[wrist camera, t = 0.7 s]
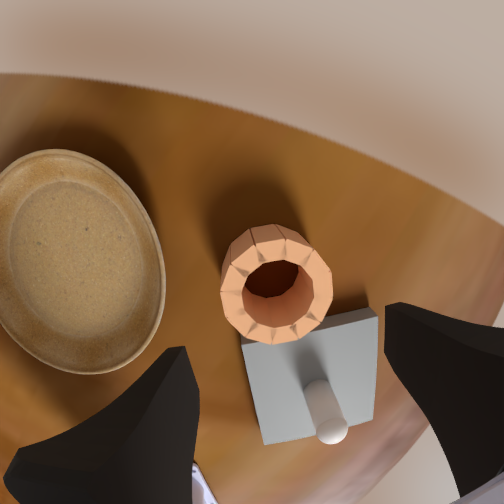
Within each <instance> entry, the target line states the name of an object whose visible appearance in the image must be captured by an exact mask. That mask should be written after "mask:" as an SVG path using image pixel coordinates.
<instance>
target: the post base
mask: <svg viewBox="0 0 504 504" xmlns="http://www.w3.org/2000/svg"><path fill="white" fill-rule="evenodd" d="M240 334H241V333H240ZM241 346H242V351H243V355H244V360H245V364H246V369H247V373H248V378H249V382H250V386H251V391H252V395H253V400H254V404H255V408H256V413H257V417H258V421H259V425H260V429H261V434H262V438H263V442H264V445H268V444H274V443H279V442H285V441H290V440H295V439H300V438H305V437H309V436H314V435H317V437H318V438H319V440H320V441H322V442H324V443H326V444H335V443H338V442H340V441H341V440H343V439H344V437H345V436H346V434H347V431H348V427H350V426H353V425H357V424H360V423H364V422H367V421H370V420H373V410H374V399H375V386H376V370H377V347H378V316H377V314H376V313H375V312H374V311H373V310H372V309H371V308H370V307H367V308H363V309H359V310H354V311H350V312H346V313H341V314H337V315H332V316H328V317H324V318H323V320H322V322H320V324H319V325H318V326H317V327H315V328H314V329H313V330H311V331H310V332H309V333H307V334H306V335H305V336H303V337H302V338H300V339H299V338H298V340H295V341H290V342H285V343H279V344H274V345H272V343H271V345H270V344H266V343H262V342H259V341H255V340H252V339H248V338H246V336H245V337H244V336H243V335H242V334H241Z"/></svg>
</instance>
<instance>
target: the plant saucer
mask: <svg viewBox="0 0 504 504" xmlns="http://www.w3.org/2000/svg"><path fill="white" fill-rule="evenodd" d="M165 293H166V275H165V266H164V259H163V254H162V250H161V246H160V243H159V240H158V237H157V234H156V231H155V228H154V226H153V224H152V222H151V219H150V217H149V215H148V213H147V211H146V210H145V208H144V207H143V205H142V203H141V202H140V201H139V199H138V197H137V196H136V195H135V193H134V192H133V191H132V190H131V188H130V187H129V186H128V185H127V184H126V183H125V182H124V181H123V180H122V179H121V178H120V177H119V176H118V175H117V174H116V173H115V172H114V171H112V170H111V169H110V168H108V167H107V166H106V165H104V164H103V163H101V162H99V161H98V160H96V159H94V158H92V157H90V156H87V155H84V154H82V153H79V152H75V151H71V150H66V149H46V150H40V151H36V152H33V153H30V154H27V155H25V156H23V157H21V158H19V159H17V160H16V161H14V162H13V163H11V164H10V165H9V166H8V167H7V168H5V169H4V170H3V171H2V173H0V323H1V325H2V326H3V328H4V329H5V330H6V332H7V333H8V334H9V335H10V336H11V337H12V338H13V340H14V341H15V342H17V343H18V344H19V345H20V346H21V347H22V348H23V349H24V350H26V351H27V352H28V353H29V354H31V355H32V356H34V357H35V358H36V359H38V360H40V361H41V362H43V363H45V364H47V365H50V366H52V367H54V368H56V369H59V370H62V371H66V372H70V373H76V374H102V373H107V372H110V371H113V370H116V369H119V368H121V367H123V366H124V365H126V364H128V363H130V362H131V361H132V360H134V358H136V357H137V356H138V355H139V354H141V353H142V351H143V350H144V349H145V348H146V347H147V345H148V344H149V342H150V341H151V339H152V338H153V336H154V334H155V333H156V330H157V328H158V326H159V323H160V320H161V317H162V313H163V309H164V303H165Z"/></svg>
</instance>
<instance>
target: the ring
mask: <svg viewBox="0 0 504 504" xmlns="http://www.w3.org/2000/svg"><path fill="white" fill-rule="evenodd" d="M277 260H286V261H289V262H292V263H295V264H298V271H299V273H298V275H297V277H296V280H295V282H294V284H293V286H292V287H291V288H290V289H288V290H287V291H286V292H285V293H283V294H282V295H280V296H275V297H269V298H264V297H261V296H257V295H254V294H251V292H250V291H249V290H248V289H247V288H246V287H245V286H244V284H245V282H246V279H247V276H248V275H249V274H250V273H252V272H253V271H254V270H255V269H257V268H258V267H259V266H260V265H262V264H263V263H266V262H272V261H277ZM220 294H221V299H222V303H223V308H224V312H225V317H227V320H228V321H229V322H230V323H231V324H232V325H233V326H234V327H235V328H236V329H237V330H238V331H239V332H240V333H241V334H242V335H243V336H244V337H245V336H246V338H248V339H252V340H255V341H259V342H262V343H266V344H270V345H271V343H272V345H274V344H279V343H285V342H290V341H295V340H298V338H299V339H300V338H302V337H303V336H305V335H306V334H307V333H309V332H310V331H311V330H313V329H314V328H315V327H317V326H318V325H319V324H320V322H322V320H323V318H324V316H325V314H326V312H327V310H328V308H329V306H330V304H331V302H332V300H333V298H332V297H333V288H332V276H331V271H330V269H329V268H328V266H327V265H326V264H325V262H324V261H323V260H322V258H321V257H320V256H319V255H318V253H317V252H316V251H315V249H314V248H313V247H312V246H311V245H310V244H309V243H308V242H307V241H306V240H305V239H304V238H303V237H302V236H301V235H300V234H299V233H297V232H296V231H293V230H290V229H288V228H285V227H282V226H280V225H277V224H275V225H274V224H270V225H264V226H258V227H252V228H251V230H250V229H248V230H246V231H245V232H244V233H243V234H242V235H240V236H239V237H238V238H237V239H236V240H234V241H233V242H232V243H231V245H230V246H229V248H228V251H227V254H226V257H225V259H224V262H223V265H222V274H221V287H220Z"/></svg>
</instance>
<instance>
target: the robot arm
mask: <svg viewBox="0 0 504 504" xmlns="http://www.w3.org/2000/svg"><path fill="white" fill-rule="evenodd" d="M384 353H385V355H386V357H387V359H388V361H389V363H390V365H391V367H392V369H393V371H394V372H395V374H396V375H397V377H398V378H399V379H400V381H401V382H402V384H403V385H404V386H405V388H406V389H407V390H408V392H409V393H410V395H411V396H412V397H413V399H414V400H415V401H416V403H417V404H418V406H419V407H420V408H421V410H422V411H423V413H424V414H425V416H426V417H427V419H428V421H429V422H430V424H431V426H432V428H433V430H434V432H435V434H436V436H437V438H438V440H439V442H440V444H441V447H442V448H443V451H444V453H445V455H446V458H447V460H448V462H449V465H450V468H451V471H452V473H453V476H454V479H455V482H456V485H457V488H458V491H459V495H460V499H458V500H456V501H454V502H452V503H451V504H504V328H498V327H497V328H496V327H491V326H485V325H479V324H474V323H469V322H466V321H462V320H458V319H454V318H451V317H448V316H444V315H441V314H438V313H435V312H432V311H429V310H426V309H423V308H420V307H417V306H414V305H410V304H407V303H402V302H398V303H394V304H390V305H387V306H385V340H384ZM199 414H200V398H199V388H198V385H197V382H196V379H195V376H194V373H193V370H192V367H191V364H190V361H189V358H188V355H187V352H186V348H185V346H179V347H171V348H168V349H166V350H165V351H164V352H163V353H162V354H161V355H160V356H159V358H158V359H157V360H156V361H155V362H154V363H153V364H152V365H151V366H150V367H149V368H148V369H147V370H146V371H145V372H144V373H143V374H142V376H141V377H140V378H139V379H138V380H137V381H135V382H134V383H133V384H132V385H131V386H130V387H129V388H128V389H127V390H126V391H125V392H124V393H123V394H122V395H120V396H119V397H118V398H117V399H116V400H114V401H113V402H112V403H111V404H109V405H108V406H107V407H105V408H104V409H103V410H101V411H100V412H98V413H97V414H95V415H94V416H92V417H90V418H89V419H87V420H85V421H84V422H82V423H80V424H79V425H77V426H75V427H73V428H71V429H69V430H67V431H65V432H63V433H61V434H59V435H56V436H54V437H52V438H49V439H47V440H44V441H41V442H38V443H35V444H32V445H29V446H26V447H22V448H19V449H18V451H17V453H16V454H15V456H14V458H13V460H12V462H11V463H10V465H9V467H8V469H7V471H6V473H5V475H4V477H3V480H4V484H5V486H6V488H7V489H8V491H9V492H10V493H11V494H12V496H13V497H14V498H15V499H16V500H17V501H18V502H19V503H20V504H218V503H217V501H216V499H215V497H214V496H213V494H212V492H211V490H210V488H209V486H208V485H207V483H206V481H205V479H204V477H203V475H202V473H201V471H200V469H199V467H198V465H197V464H195V463H193V458H194V451H195V444H196V436H197V429H198V422H199Z"/></svg>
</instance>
